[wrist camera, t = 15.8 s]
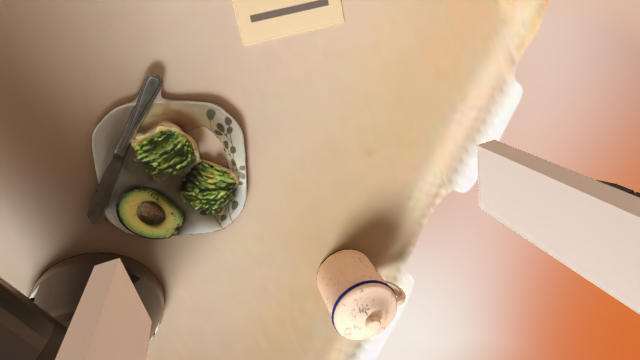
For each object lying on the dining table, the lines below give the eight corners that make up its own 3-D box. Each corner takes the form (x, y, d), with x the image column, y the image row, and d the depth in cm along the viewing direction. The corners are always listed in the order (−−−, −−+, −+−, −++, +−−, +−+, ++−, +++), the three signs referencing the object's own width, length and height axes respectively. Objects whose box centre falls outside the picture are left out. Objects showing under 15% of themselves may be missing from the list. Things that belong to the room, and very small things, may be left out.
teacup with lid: (309, 298, 59) (333, 358, 49) (320, 245, 56) (348, 296, 46) (380, 297, 63) (416, 352, 53) (394, 248, 60) (435, 295, 50)
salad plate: (69, 69, 40) (55, 74, 36) (246, 75, 45) (251, 80, 41) (95, 235, 47) (85, 256, 43) (246, 225, 52) (250, 242, 48)
